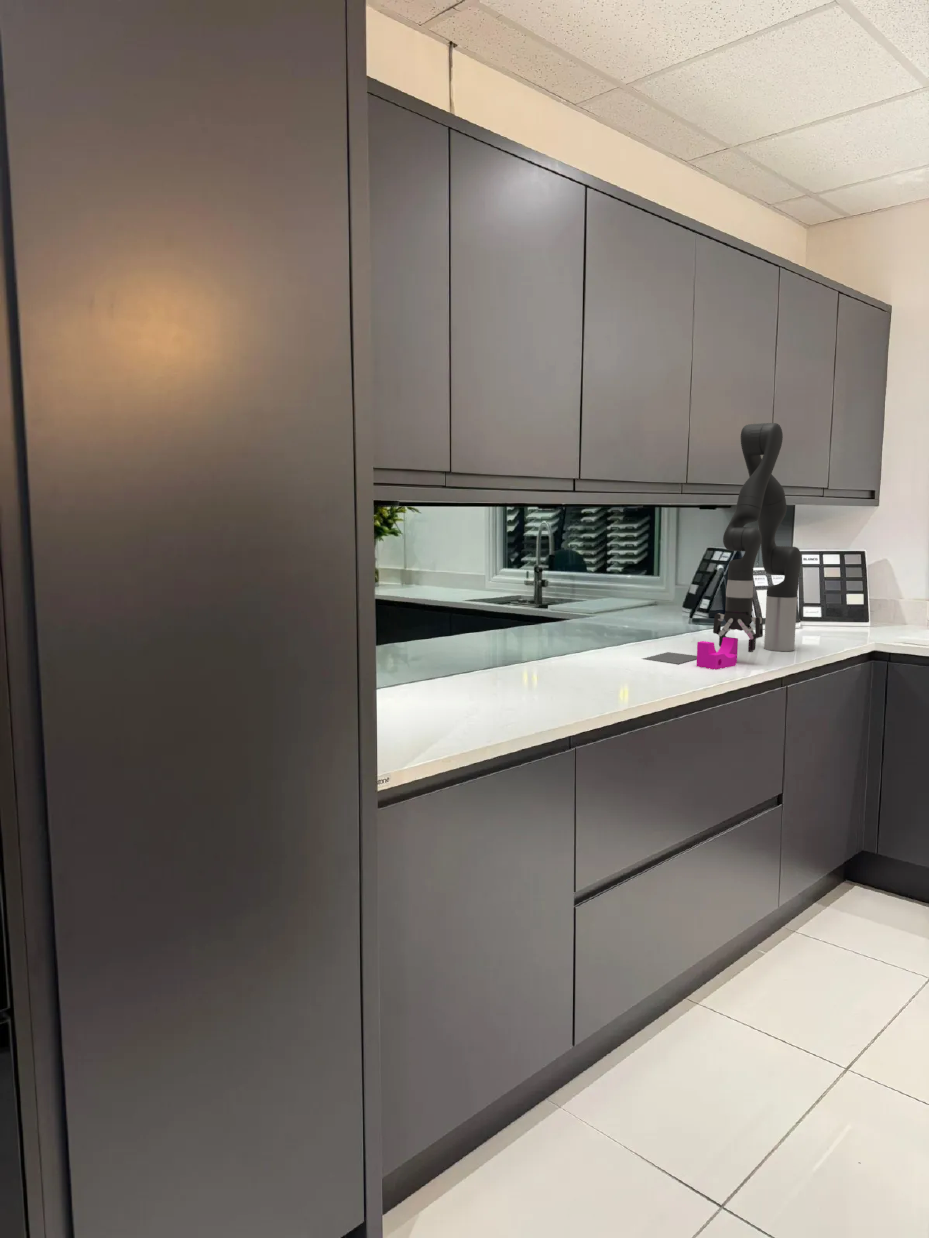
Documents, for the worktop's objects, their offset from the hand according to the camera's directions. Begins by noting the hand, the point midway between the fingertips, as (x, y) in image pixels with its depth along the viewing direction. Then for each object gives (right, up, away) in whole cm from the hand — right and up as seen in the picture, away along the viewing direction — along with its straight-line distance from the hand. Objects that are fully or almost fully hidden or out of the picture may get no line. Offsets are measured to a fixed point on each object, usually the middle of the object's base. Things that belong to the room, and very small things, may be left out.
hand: (736, 650), depth 256 cm
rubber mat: (-18, -3, +4) cm, 19 cm away
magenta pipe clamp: (-6, -5, -5) cm, 9 cm away
